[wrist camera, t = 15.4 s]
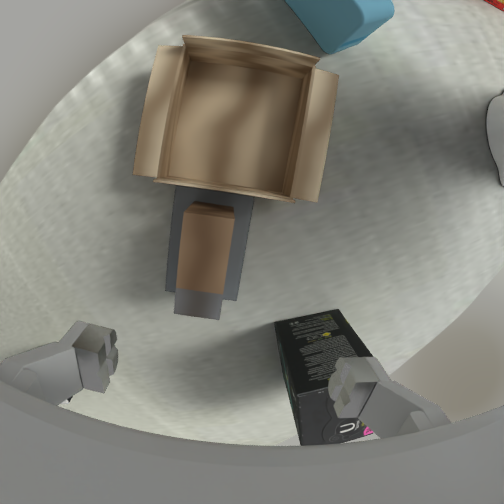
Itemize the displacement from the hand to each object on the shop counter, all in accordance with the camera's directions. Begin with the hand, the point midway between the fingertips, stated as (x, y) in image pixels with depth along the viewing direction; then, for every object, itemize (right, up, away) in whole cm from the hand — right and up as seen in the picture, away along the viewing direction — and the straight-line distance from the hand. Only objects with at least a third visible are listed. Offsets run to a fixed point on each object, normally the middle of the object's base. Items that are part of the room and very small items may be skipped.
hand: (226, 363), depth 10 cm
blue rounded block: (+9, +33, +18) cm, 39 cm away
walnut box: (-4, +5, +25) cm, 25 cm away
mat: (-4, +5, +25) cm, 26 cm away
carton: (-1, +18, +21) cm, 28 cm away
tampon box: (+9, -9, +31) cm, 33 cm away
